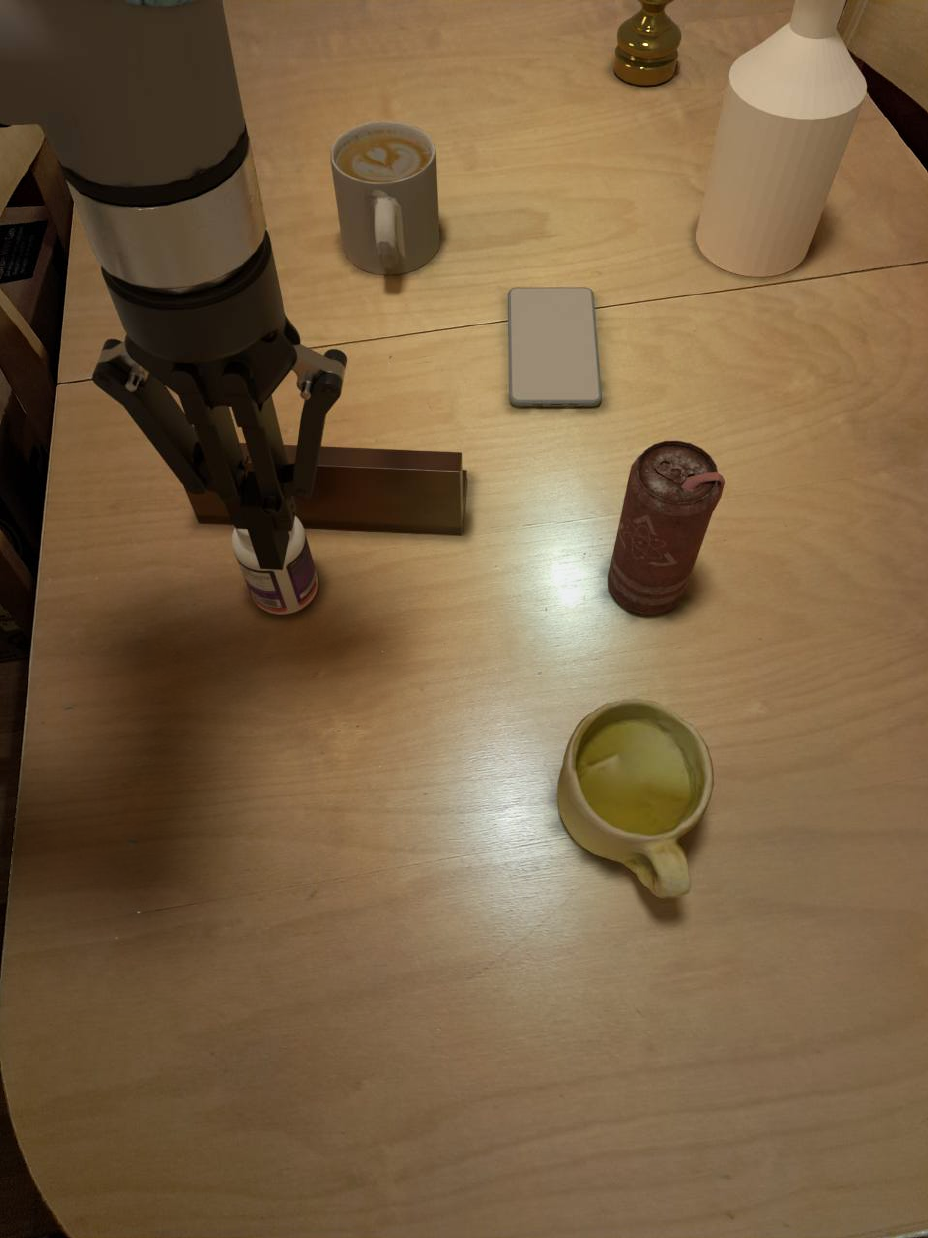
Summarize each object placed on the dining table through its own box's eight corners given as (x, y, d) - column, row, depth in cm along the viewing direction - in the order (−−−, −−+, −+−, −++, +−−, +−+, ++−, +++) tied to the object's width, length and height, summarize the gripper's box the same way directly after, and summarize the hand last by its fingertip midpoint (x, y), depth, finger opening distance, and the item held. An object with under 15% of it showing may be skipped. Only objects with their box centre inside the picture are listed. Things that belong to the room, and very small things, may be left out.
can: (692, 617, 73) (734, 505, 61) (610, 618, 73) (636, 506, 61) (682, 553, 76) (720, 434, 64) (603, 554, 76) (627, 436, 64)
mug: (522, 724, 66) (582, 686, 57) (652, 732, 69) (728, 697, 60) (529, 905, 62) (594, 895, 53) (667, 905, 65) (751, 896, 56)
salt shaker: (605, 57, 114) (616, -35, 105) (664, 50, 115) (680, -42, 106) (621, 90, 110) (634, -2, 102) (682, 83, 111) (700, -9, 102)
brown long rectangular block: (198, 523, 78) (171, 459, 71) (213, 467, 81) (188, 401, 74) (462, 535, 77) (460, 472, 70) (466, 478, 80) (465, 412, 73)
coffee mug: (354, 208, 99) (343, 116, 91) (447, 216, 99) (444, 124, 90) (324, 292, 93) (309, 201, 84) (423, 302, 92) (418, 211, 83)
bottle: (703, 280, 93) (770, 9, 71) (684, 205, 99) (741, -65, 78) (822, 276, 93) (925, 4, 72) (796, 201, 99) (883, -70, 78)
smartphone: (509, 401, 84) (507, 286, 91) (509, 409, 84) (507, 294, 92) (603, 401, 83) (593, 285, 91) (601, 409, 84) (592, 294, 92)
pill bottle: (305, 550, 76) (283, 473, 68) (329, 601, 74) (309, 527, 66) (242, 574, 75) (212, 499, 67) (263, 626, 73) (235, 555, 64)
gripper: (341, 195, 43) (380, 512, 63) (62, 183, 43) (189, 501, 64) (317, 306, 39) (367, 606, 59) (10, 292, 40) (163, 594, 60)
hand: (275, 552), depth 61 cm, fingers closed
